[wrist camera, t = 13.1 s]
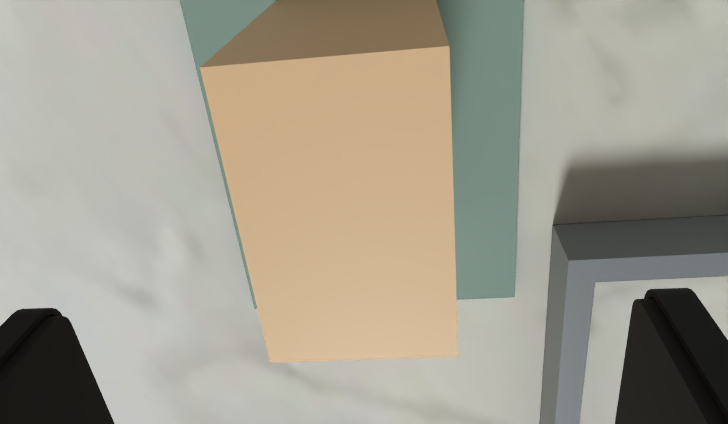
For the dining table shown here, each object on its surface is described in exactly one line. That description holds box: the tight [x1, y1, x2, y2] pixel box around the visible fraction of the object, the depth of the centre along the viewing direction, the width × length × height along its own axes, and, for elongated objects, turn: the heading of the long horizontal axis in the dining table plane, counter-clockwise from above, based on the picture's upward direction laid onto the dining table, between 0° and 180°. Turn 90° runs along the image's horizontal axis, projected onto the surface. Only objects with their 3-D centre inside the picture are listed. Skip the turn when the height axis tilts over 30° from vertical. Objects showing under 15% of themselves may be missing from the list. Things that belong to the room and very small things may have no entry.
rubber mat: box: [180, 0, 524, 309], centre depth 21 cm, size 11×17×1 cm, turn 6°
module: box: [200, 0, 458, 363], centre depth 17 cm, size 5×8×8 cm, turn 6°
